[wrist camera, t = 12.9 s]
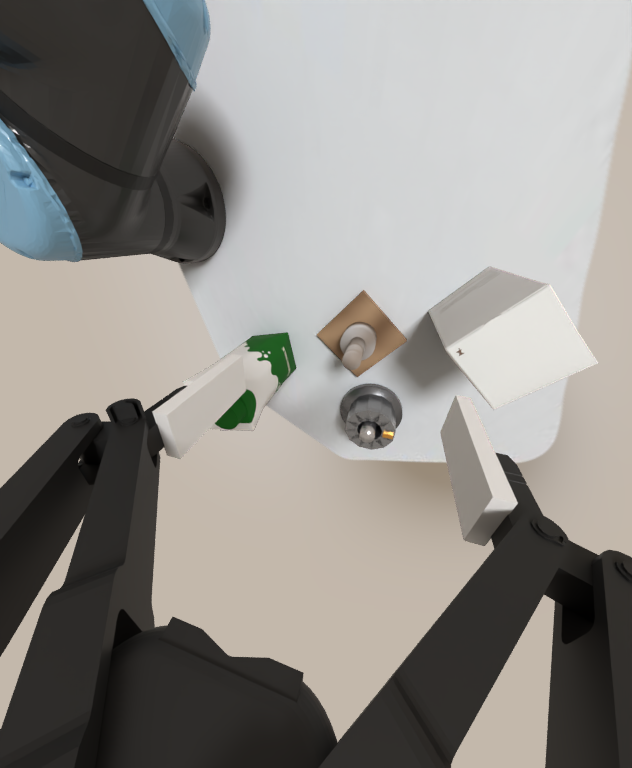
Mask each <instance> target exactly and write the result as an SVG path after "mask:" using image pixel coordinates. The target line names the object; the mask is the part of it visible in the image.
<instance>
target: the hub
mask: <svg viewBox="0 0 632 768" xmlns="http://www.w3.org/2000/svg"><path fill="white" fill-rule="evenodd" d="M367 394H374V395H379V396H383V397H384V398H385V399H387V400H388V401H389V402H391V403H392V405H393V408H394V410H395V413H396V428H397V427H398V425H399V424H400V422H401V419H402V406H401V403H400V400H399V399H398V397H397V396H396V395H395V394H394V393H393V392H392V391H391V390H389V389H388V388H386V387H383V386H381V385H376V384H363V385H359V386H356V387H354V388H352V389H351V390H350V391H348V393H347V394H346V395H345V397H344V399H343V401H342V405H341V415H342V418H343V420H344V422H345V423H346V421H347V417H348V413H349V410H350V406H351V403H352V402H353V401H355V400H356V399H357V398H358V397H359V396H363V395H367ZM375 429H376V422H372V421H364V422H362V425H361V430H360V435H359V437H360V439H361V440H362V441H363V442H365V443H370V442H372V441H374V438H375Z"/></svg>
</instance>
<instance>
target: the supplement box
mask: <svg viewBox="0 0 632 768" xmlns="http://www.w3.org/2000/svg"><path fill="white" fill-rule="evenodd" d="M428 313H429V315H430V317H431V319H432V321H433V324H434V326H435V328H436V330H437V332H438V335H439V337H440V339H441V341H442V344H443V346H444V348H445V351H446V352H447V353H448V355H449V356H450V357H451V359H452V360H453V361H454V363H455V364H456V365H457V366H458V368H459V369H460V370H461V371H462V372H463V374H464V375H465V376H466V377H467V378H468V380H469V381H470V382H471V383H472V384H473V386H474V387H475V388H476V389H477V390H478V391H479V393H480V394H481V395H482V396H483V397H484V399H485V400H486V401H487V402H488V403H489V405H490V406H491V407H492V408H493V409H494V410H495V409H497V408H499V407H501V406H503V405H505V404H508V403H510V402H512V401H514V400H517V399H519V398H521V397H523V396H526V395H528V394H530V393H532V392H534V391H537V390H539V389H541V388H543V387H546V386H548V385H550V384H552V383H555V382H557V381H559V380H561V379H563V378H566V377H568V376H570V375H572V374H575V373H577V372H579V371H581V370H583V369H586V368H588V367H590V366H593V365H595V364H597V363H598V362H597V361H596V359H595V357H594V356H593V354H592V352H591V351H590V349H589V348H588V346H587V345H586V343H585V342H584V340H583V339H582V337H581V336H580V334H579V332H578V331H577V329H576V328H575V326H574V324H573V323H572V321H571V319H570V317H569V316H568V314H567V312H566V310H565V309H564V307H563V305H562V304H561V302H560V300H559V299H558V297H557V295H556V293H555V292H554V290H553V288H552V287H551V285H550V284H546V283H542V282H538V281H535V280H532V279H529V278H525V277H522V276H519V275H516V274H512V273H509V272H506V271H503V270H500V269H497V268H494V267H488V268H487V269H485V270H484V271H482V272H481V273H480V274H478V275H477V276H475V277H474V278H473V279H471V280H470V281H469V282H467V283H466V284H464V285H463V286H462V287H460V288H459V289H458V290H456V291H455V292H453V293H452V294H451V295H449V296H448V297H447V298H445V299H444V300H443V301H441V302H440V303H438V304H437V305H436V306H434V307H433V308H432V309H430V310H429V311H428Z"/></svg>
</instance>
